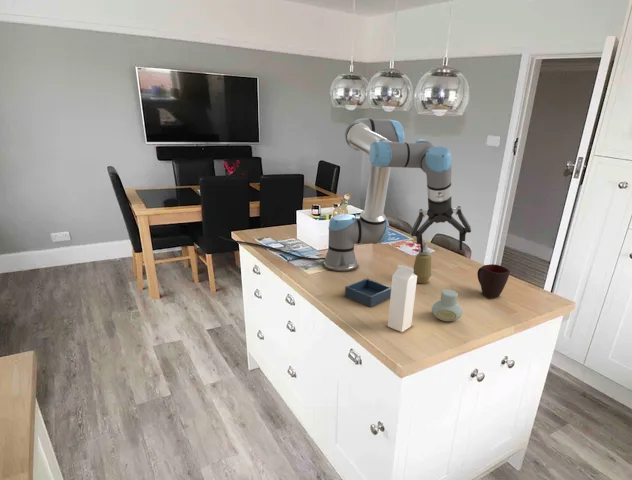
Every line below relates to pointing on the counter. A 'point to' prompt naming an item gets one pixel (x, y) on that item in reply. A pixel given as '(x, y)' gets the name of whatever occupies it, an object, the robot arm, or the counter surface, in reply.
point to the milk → (402, 298)
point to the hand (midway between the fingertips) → (441, 249)
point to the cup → (492, 279)
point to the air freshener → (447, 306)
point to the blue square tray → (368, 292)
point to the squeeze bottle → (423, 265)
